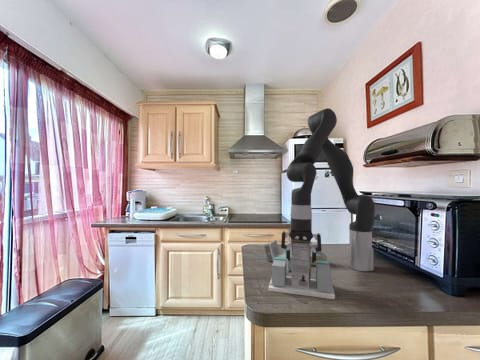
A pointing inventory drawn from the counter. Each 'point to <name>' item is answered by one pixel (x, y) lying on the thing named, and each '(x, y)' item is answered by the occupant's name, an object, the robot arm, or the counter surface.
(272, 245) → the electrical switch
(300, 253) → the coffee box
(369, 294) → the counter surface
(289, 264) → the block
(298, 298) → the counter surface
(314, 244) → the air freshener
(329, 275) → the grey u-shaped holder
